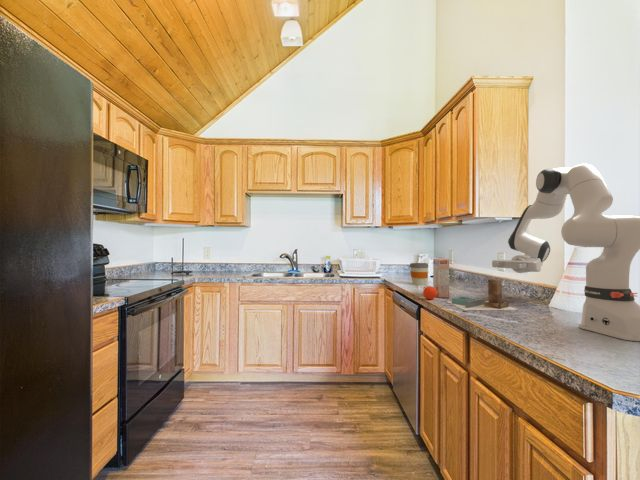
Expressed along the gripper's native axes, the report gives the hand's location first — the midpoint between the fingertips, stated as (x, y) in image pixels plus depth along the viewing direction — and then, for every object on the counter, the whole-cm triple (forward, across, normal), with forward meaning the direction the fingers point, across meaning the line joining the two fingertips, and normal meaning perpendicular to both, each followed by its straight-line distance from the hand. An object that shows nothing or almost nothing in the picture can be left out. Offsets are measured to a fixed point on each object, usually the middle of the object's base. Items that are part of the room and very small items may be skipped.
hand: (507, 265), depth 151 cm
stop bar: (+12, 0, +18) cm, 22 cm away
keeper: (+12, +1, +18) cm, 22 cm away
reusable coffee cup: (-29, -74, +20) cm, 82 cm away
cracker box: (+2, -35, +19) cm, 40 cm away
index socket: (+17, -12, +19) cm, 28 cm away
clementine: (+16, -32, +19) cm, 41 cm away
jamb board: (+15, -5, +19) cm, 25 cm away
